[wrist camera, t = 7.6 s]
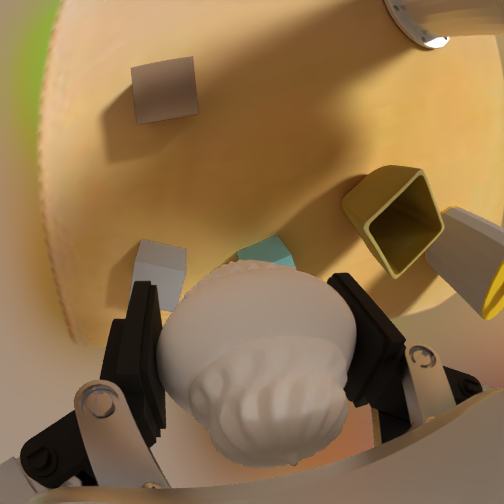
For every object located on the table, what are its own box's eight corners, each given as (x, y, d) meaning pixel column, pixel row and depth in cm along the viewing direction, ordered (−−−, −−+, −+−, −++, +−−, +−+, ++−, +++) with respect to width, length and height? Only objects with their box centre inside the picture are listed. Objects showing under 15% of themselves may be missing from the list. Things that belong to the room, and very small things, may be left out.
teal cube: (236, 251, 32) (244, 274, 28) (276, 234, 32) (291, 254, 28) (251, 284, 34) (260, 310, 30) (288, 268, 35) (303, 291, 30)
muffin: (280, 353, 13) (332, 481, 7) (152, 339, 11) (151, 498, 5) (337, 241, 11) (458, 370, 5) (179, 201, 9) (172, 391, 3)
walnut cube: (140, 76, 21) (130, 67, 17) (192, 67, 22) (193, 56, 18) (146, 124, 24) (137, 125, 19) (197, 114, 24) (198, 113, 20)
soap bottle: (416, 281, 42) (498, 362, 23) (424, 210, 35) (536, 285, 17) (462, 258, 43) (537, 320, 25) (471, 195, 37) (565, 250, 18)
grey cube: (141, 238, 29) (135, 260, 24) (185, 248, 30) (186, 272, 26) (135, 277, 31) (128, 303, 26) (176, 285, 32) (175, 312, 28)
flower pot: (319, 197, 31) (362, 227, 23) (371, 150, 30) (423, 167, 22) (354, 245, 35) (394, 281, 27) (399, 202, 34) (445, 229, 26)
